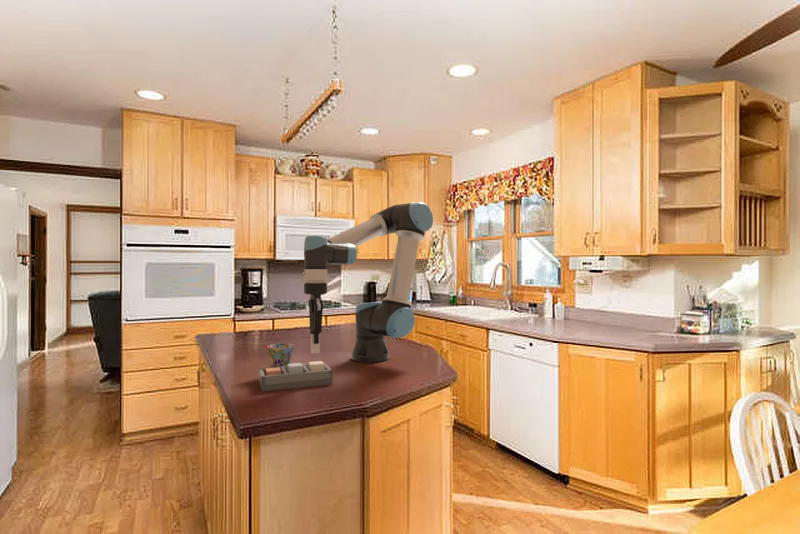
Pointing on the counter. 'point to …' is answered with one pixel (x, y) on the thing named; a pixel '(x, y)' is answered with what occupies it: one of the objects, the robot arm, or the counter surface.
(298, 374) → the grey compartment tray
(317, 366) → the key
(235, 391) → the counter surface
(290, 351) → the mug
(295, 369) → the key middle
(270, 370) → the key
